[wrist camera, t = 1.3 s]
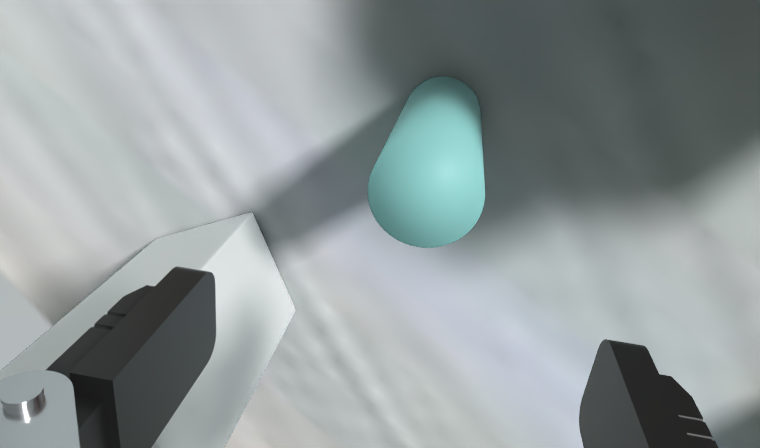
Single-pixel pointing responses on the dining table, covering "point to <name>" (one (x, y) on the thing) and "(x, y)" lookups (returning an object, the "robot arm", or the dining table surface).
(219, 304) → the milk carton
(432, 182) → the dowel
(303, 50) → the dining table surface
